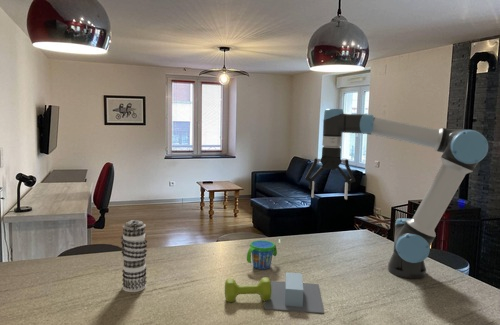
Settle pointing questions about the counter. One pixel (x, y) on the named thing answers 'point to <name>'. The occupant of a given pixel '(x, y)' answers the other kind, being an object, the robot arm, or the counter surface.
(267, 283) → the dumbbell
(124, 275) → the patterned white cylinder
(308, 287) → the mat
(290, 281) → the block
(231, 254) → the counter surface
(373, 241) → the counter surface
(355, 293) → the counter surface
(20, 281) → the counter surface
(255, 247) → the snack cup
